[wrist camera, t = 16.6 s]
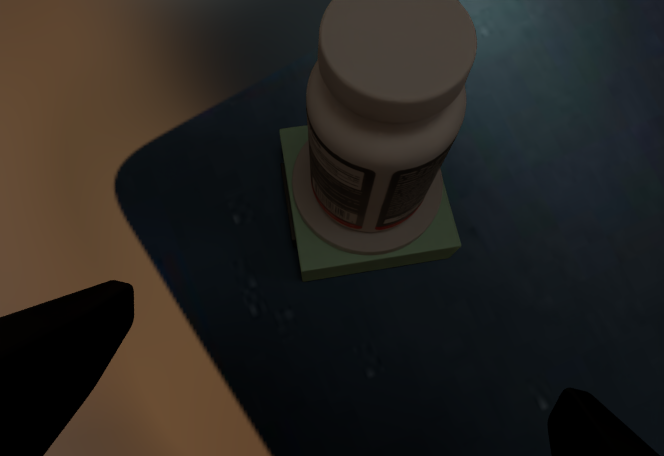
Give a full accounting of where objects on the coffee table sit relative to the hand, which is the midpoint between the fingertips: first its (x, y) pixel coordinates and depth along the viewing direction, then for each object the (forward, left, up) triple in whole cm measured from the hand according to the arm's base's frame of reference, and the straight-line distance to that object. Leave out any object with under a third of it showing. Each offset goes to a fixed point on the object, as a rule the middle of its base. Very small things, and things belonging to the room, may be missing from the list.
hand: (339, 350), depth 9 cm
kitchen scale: (+3, +9, -14) cm, 16 cm away
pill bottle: (+3, +9, -11) cm, 14 cm away
